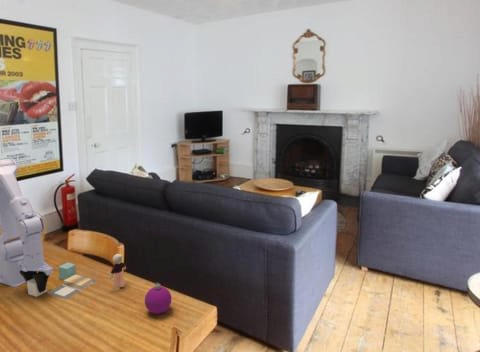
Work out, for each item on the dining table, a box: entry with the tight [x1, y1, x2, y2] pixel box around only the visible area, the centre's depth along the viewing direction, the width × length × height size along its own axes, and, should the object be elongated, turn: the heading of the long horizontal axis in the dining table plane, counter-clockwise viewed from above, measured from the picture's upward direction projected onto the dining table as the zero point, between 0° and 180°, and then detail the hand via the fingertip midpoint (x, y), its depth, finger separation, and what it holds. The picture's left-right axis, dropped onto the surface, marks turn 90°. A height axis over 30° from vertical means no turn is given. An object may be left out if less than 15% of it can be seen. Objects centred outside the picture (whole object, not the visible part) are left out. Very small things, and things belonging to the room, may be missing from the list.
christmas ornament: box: [144, 282, 172, 315], centre depth 114 cm, size 8×8×10 cm
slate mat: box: [47, 275, 99, 300], centre depth 128 cm, size 9×14×1 cm, turn 156°
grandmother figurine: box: [109, 253, 127, 292], centre depth 127 cm, size 8×4×13 cm, turn 168°
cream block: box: [26, 278, 48, 298], centre depth 123 cm, size 4×4×5 cm
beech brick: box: [62, 274, 92, 291], centre depth 129 cm, size 8×5×2 cm, turn 66°
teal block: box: [58, 262, 77, 280], centre depth 133 cm, size 4×4×5 cm
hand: (37, 289), depth 123 cm, fingers closed on cream block, 4 cm apart
